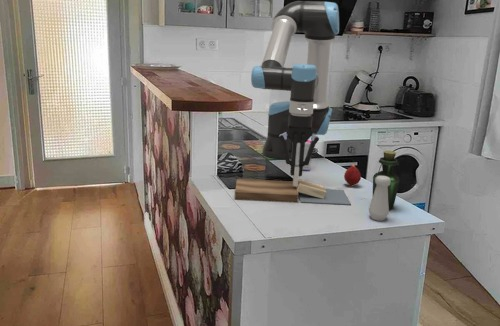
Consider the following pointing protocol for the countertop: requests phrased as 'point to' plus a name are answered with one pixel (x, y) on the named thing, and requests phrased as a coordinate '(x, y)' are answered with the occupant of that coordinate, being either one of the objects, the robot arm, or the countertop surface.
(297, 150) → the supplement box
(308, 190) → the beech block
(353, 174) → the onion
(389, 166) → the potion bottle
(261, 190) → the board
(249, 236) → the countertop surface
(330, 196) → the slate mat
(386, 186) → the salt shaker
